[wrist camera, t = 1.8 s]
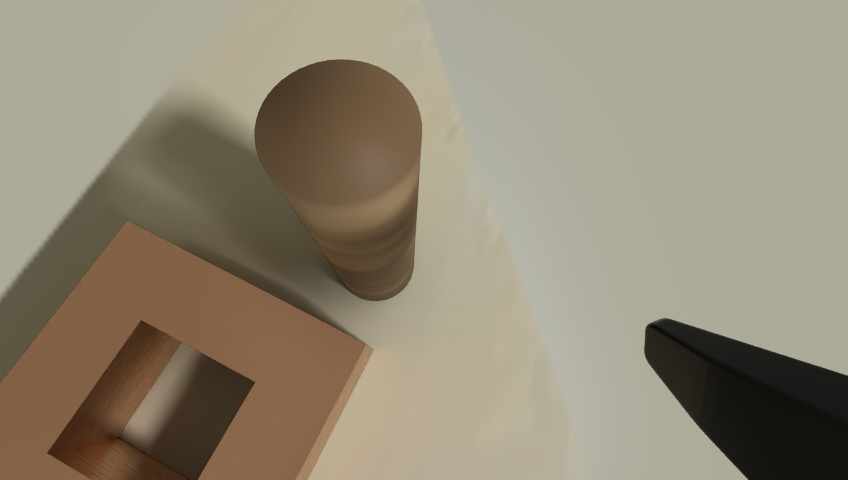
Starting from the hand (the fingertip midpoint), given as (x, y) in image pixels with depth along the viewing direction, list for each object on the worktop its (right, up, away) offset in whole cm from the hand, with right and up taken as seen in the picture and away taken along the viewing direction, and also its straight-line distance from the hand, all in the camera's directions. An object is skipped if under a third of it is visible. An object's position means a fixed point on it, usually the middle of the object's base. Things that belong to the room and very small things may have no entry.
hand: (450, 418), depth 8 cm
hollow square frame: (-11, -5, +12) cm, 17 cm away
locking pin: (-3, +2, +14) cm, 15 cm away
